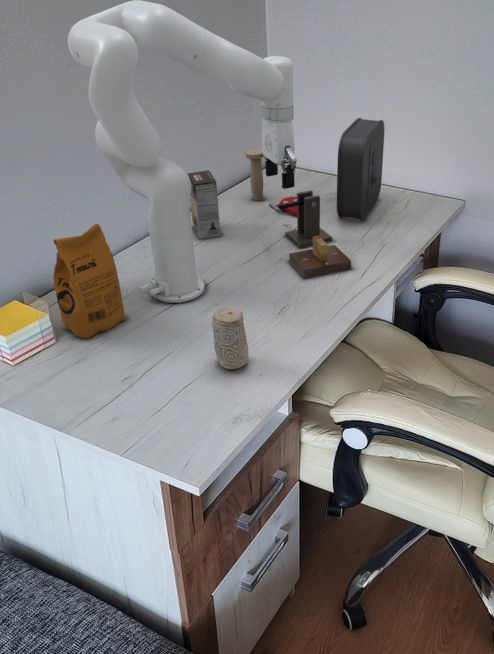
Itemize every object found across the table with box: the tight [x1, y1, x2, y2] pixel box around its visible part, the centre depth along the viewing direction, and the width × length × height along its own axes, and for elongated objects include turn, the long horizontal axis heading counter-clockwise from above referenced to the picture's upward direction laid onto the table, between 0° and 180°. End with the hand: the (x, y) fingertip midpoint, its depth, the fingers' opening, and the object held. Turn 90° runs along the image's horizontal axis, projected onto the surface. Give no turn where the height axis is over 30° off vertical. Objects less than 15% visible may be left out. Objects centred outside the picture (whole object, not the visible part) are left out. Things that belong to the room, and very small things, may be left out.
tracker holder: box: [278, 190, 302, 216], centre depth 202 cm, size 12×4×10 cm
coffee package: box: [52, 223, 126, 340], centre depth 142 cm, size 10×12×22 cm
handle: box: [245, 147, 265, 201], centre depth 205 cm, size 5×6×15 cm
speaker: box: [336, 117, 385, 221], centre depth 196 cm, size 25×9×25 cm, turn 162°
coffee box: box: [186, 169, 221, 240], centre depth 184 cm, size 9×6×16 cm
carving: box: [211, 306, 249, 370], centre depth 133 cm, size 6×8×12 cm
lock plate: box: [288, 244, 352, 280], centre depth 171 cm, size 13×10×3 cm
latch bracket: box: [284, 190, 333, 249], centre depth 182 cm, size 10×9×13 cm
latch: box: [268, 195, 312, 214], centre depth 177 cm, size 12×5×2 cm, turn 119°
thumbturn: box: [312, 235, 329, 262], centre depth 169 cm, size 6×2×5 cm, turn 24°
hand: (280, 181), depth 170 cm, fingers open, 9 cm apart
